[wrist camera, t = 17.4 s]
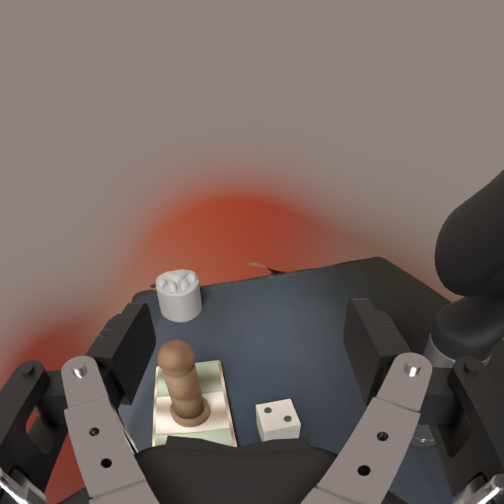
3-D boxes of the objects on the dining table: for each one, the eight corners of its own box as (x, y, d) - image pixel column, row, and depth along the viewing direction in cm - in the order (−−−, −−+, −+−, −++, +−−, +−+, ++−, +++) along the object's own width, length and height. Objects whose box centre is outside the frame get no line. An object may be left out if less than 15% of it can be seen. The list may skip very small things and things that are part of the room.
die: (256, 424, 40) (255, 403, 38) (288, 418, 41) (290, 396, 39) (263, 450, 36) (263, 430, 34) (298, 442, 37) (301, 422, 35)
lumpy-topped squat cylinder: (197, 292, 80) (193, 263, 77) (206, 317, 69) (202, 284, 66) (159, 299, 77) (153, 269, 74) (163, 325, 66) (156, 292, 63)
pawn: (188, 393, 45) (172, 325, 40) (217, 408, 42) (206, 339, 37) (163, 415, 40) (140, 347, 35) (193, 433, 37) (174, 365, 32)
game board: (157, 371, 52) (156, 365, 51) (221, 365, 53) (220, 359, 53) (157, 532, 22) (153, 529, 22) (255, 525, 24) (255, 523, 24)
